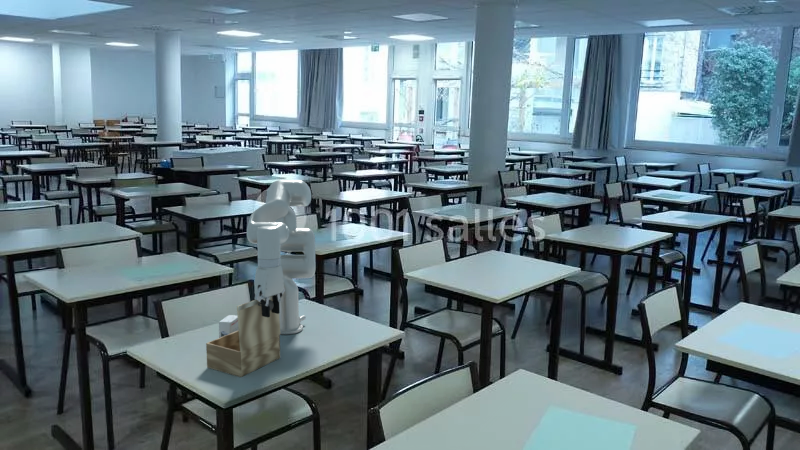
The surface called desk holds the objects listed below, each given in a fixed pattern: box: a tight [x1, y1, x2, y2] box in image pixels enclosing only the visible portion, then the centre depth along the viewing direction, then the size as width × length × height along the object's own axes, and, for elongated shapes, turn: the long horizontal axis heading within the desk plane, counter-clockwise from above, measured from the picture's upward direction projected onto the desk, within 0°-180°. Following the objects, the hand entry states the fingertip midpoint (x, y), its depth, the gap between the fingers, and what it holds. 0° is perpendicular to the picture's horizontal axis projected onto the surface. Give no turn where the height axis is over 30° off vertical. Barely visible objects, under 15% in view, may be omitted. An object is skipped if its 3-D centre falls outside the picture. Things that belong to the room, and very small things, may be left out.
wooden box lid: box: [236, 295, 281, 351], centre depth 217 cm, size 20×16×7 cm
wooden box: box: [205, 330, 281, 378], centre depth 225 cm, size 20×16×9 cm
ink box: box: [218, 314, 239, 338], centre depth 239 cm, size 9×5×12 cm, turn 168°
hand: (270, 314), depth 215 cm, fingers closed on wooden box lid, 4 cm apart
